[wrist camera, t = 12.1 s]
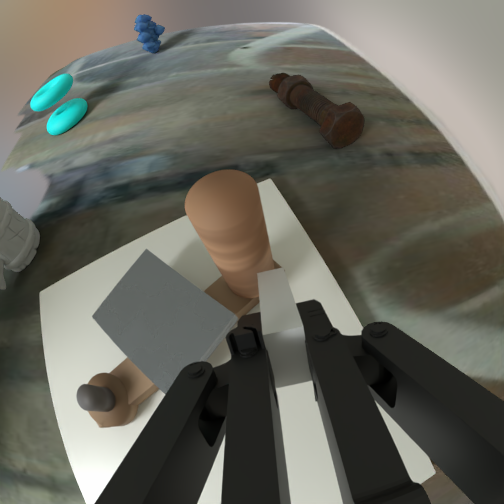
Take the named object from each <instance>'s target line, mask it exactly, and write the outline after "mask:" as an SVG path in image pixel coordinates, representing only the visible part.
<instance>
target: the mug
mask: <svg viewBox="0 0 504 504" xmlns="http://www.w3.org/2000/svg"><path fill="white" fill-rule="evenodd" d="M39 240H40V234H39V231H38V229H37V228H35V225H34V223H33V222H32V221H31V220H29V219H27V218H26V219H24V218H23V217H22V216H21V215H20V214H18V213H17V212H16V211H15V210H14V209H13V208H12V206H11V204H10V203H9V202H7V201H3V200H2V199H1V198H0V290H5V289H6V283H5V280H4V275H3V268H4V267H5V268H6V269H7V270H13V271H15V272H19V271H22V269H25V268H26V265H29V264H30V262H31V261H32V259H33V258H34V256H35V254H36V252H37V251H36V249H37V247H38V246H39Z"/></svg>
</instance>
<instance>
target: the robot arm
mask: <svg viewBox="0 0 504 504" xmlns="http://www.w3.org/2000/svg"><path fill="white" fill-rule="evenodd" d="M257 276H258V288H259V300H260V311H261V312H257V313H252V314H247V315H242V316H241V318H240V319H239V320H238V323H237V327H236V328H234V329H232V330H231V331H230V332H228V333H227V335H226V337H225V338H226V341H227V344H228V347H229V350H230V353H231V359H230V360H229V361H228V362H226V363H224V364H222V365H219V366H216V367H214V368H213V367H212V365H211V364H210V363H208V362H205V361H199V362H193V363H191V364H189V365H187V366H185V367H184V368H183V369H182V370H181V371H180V373H179V374H178V376H177V377H176V379H175V380H174V382H173V384H172V385H171V387H170V388H169V390H168V391H167V393H166V394H165V396H164V398H163V399H162V401H161V402H160V404H159V405H158V407H157V408H156V410H155V411H154V413H153V414H152V416H151V418H150V419H149V421H148V422H147V424H146V425H145V427H144V428H143V430H142V431H141V433H140V435H139V436H138V438H137V439H136V441H135V442H134V444H133V445H132V447H131V448H130V450H129V451H128V453H127V454H126V456H125V458H124V459H123V461H122V462H121V464H120V465H119V467H118V468H117V470H116V471H115V473H114V474H113V476H112V477H111V479H110V481H109V482H108V484H107V485H106V487H105V488H104V490H103V491H102V493H101V494H100V496H99V497H98V499H97V500H96V502H95V503H94V504H197V503H198V500H199V498H200V496H201V493H202V491H203V489H204V486H205V484H206V481H207V479H208V476H209V474H210V471H211V469H212V467H213V464H214V462H215V459H216V457H217V454H218V451H219V449H220V446H221V444H222V441H223V439H224V436H225V446H224V462H223V478H222V494H221V504H291V499H290V491H289V483H288V474H287V466H286V458H285V450H284V442H283V434H282V426H281V418H280V410H279V402H278V396H277V392H276V388H280V387H285V386H290V385H295V384H300V383H304V382H309V381H313V388H314V395H315V402H316V401H317V403H318V407H319V411H320V415H321V418H322V422H323V426H324V430H325V434H326V437H327V441H328V445H329V449H330V453H331V457H332V461H333V465H334V469H335V473H336V477H337V481H338V485H339V489H340V493H341V497H342V502H343V504H431V502H430V500H429V498H428V496H427V493H426V492H425V490H424V488H423V487H422V486H421V485H420V484H419V483H416V482H413V481H412V480H411V478H410V476H409V474H408V472H407V469H406V467H405V465H404V463H403V460H402V458H401V456H400V454H399V451H398V449H397V447H396V445H395V443H394V440H393V438H392V436H391V434H390V432H389V430H388V428H387V425H386V423H385V421H384V419H383V417H382V415H381V413H380V411H379V409H378V406H377V404H376V402H377V403H378V404H379V405H380V406H381V407H382V408H383V409H384V411H385V412H386V413H387V414H388V415H389V416H390V417H391V418H392V419H393V420H394V421H395V422H396V423H397V424H398V425H399V426H400V427H401V428H402V429H403V431H404V432H405V433H406V434H407V435H408V436H409V437H410V438H411V439H412V440H413V441H414V442H415V443H416V444H417V445H418V446H419V447H420V448H421V449H422V450H423V451H424V452H425V453H426V454H427V456H428V457H429V458H430V459H431V460H432V461H433V462H434V463H435V464H436V465H437V466H438V467H439V468H440V469H441V470H442V471H443V472H444V473H445V474H446V475H447V476H448V477H449V478H450V479H451V480H452V481H453V482H454V483H455V484H456V485H457V486H458V487H459V488H460V489H461V490H462V491H463V492H464V493H465V494H466V496H467V497H468V498H469V499H470V500H471V501H472V502H473V503H474V504H504V401H502V400H501V399H500V398H498V397H497V396H495V395H494V394H492V393H491V392H490V391H488V390H487V389H485V388H484V387H483V386H481V385H480V384H478V383H477V382H475V381H474V380H473V379H471V378H470V377H468V376H467V375H465V374H464V373H462V372H461V371H460V370H458V369H457V368H455V367H454V366H452V365H451V364H449V363H448V362H447V361H445V360H444V359H442V358H441V357H439V356H438V355H436V354H435V353H433V352H432V351H431V350H429V349H428V348H426V347H425V346H423V345H422V344H420V343H419V342H417V341H416V340H414V339H413V338H411V337H410V336H408V335H407V334H405V333H404V332H403V331H401V330H400V329H398V328H397V327H395V326H394V325H392V324H390V323H387V322H374V323H371V324H368V325H367V326H365V327H364V328H363V330H362V331H361V335H353V336H348V335H342V334H341V333H340V331H339V330H338V329H337V328H334V327H333V326H332V324H331V322H330V320H329V318H328V316H327V314H326V312H325V310H324V308H323V306H322V304H321V303H320V302H318V301H317V300H315V299H312V300H308V301H304V302H299V303H295V300H294V297H293V294H292V291H291V288H290V285H289V282H288V280H287V277H286V274H285V271H284V268H278V269H274V270H269V271H265V272H260V273H257ZM275 386H276V387H275ZM375 401H376V402H375Z"/></svg>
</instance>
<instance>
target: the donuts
mask: <svg viewBox="0 0 504 504" xmlns="http://www.w3.org/2000/svg"><path fill="white" fill-rule="evenodd" d="M72 84H73V78H72V76H71V75H70V74H62V75H59V76H57V77H56V78H54V79H52V80H51V81H50V82H48V83H47V84H46V85H44V86H43V87H42V88H41V89H40V90H39V91H38V92H37V93H36V94H35V95H34V96H33V98H32V100H31V103H30V105H31V108H32V109H33V110H34V111H43V110H45V109H47V108H49V107H51V106H53V105H54V104H55V103H57V102H58V101H59V100H60V99H62V98H63V97H64V96H65V95H66V94H67V92H68V91H69V90H70V88H71V86H72ZM87 107H88V105H87V102H86V101H85V100H84V99H81V98H76V99H72V100H70V101H68V102H66V103H64V104H63V105H61V106H60V107H59V108H58V109H57V110H56V111H55V112H54V113H53V114H52V115H51V117H50V118H49V120H48V123H47V131H48V132H49V134H51V135H59V134H62V133H64V132H66V131H67V130H69V129H70V128H72V127H73V126H74V125H75V124H77V123H78V122H79V121H80V120H81V119H82V117H83V116H84V115H85V113H86V111H87Z"/></svg>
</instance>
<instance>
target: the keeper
mask: <svg viewBox="0 0 504 504" xmlns="http://www.w3.org/2000/svg"><path fill="white" fill-rule="evenodd" d="M92 317H93V319H94V320H95V321H96V322H97V324H98V325H99V326H100V327H101V328H102V329H103V331H104V332H105V333H106V334H107V335H108V336H109V337H110V339H111V340H112V341H113V342H114V343H115V344H116V345H117V346H118V347H119V349H120V350H121V351H122V352H123V353H124V354H125V355H126V356H127V357H128V358H129V359H130V360H131V361H132V362H133V363H134V364H135V365H136V366H137V368H138V369H139V370H140V371H141V372H142V373H143V374H144V375H145V376H146V377H148V378H149V379H150V380H151V381H152V382H153V383H154V384H155V385H156V386H157V387H158V388H159V389H160V390H161V391H162V392H163V393H164V394H166V393H167V391H168V390H169V388H170V387H171V385H172V384H173V382H174V380H175V379H176V377H177V376H178V374H179V373H180V371H181V370H182V369H183V368H184V367H185V366H187V365H189V364H191V363H193V362H199V361H205V362H206V361H207V360H208V358H209V357H210V356H211V354H212V353H213V352H214V351H215V349H216V348H217V347H218V345H219V344H220V343H221V342H222V340H223V339H224V338H225V336H226V335H227V333H228V332H229V331H230V330H231V329H232V327H233V326H234V325H235V323H236V322H237V321H238V317H237V316H236V315H235V314H234V313H233V312H231V311H230V310H228V309H227V308H226V307H224V306H223V305H221V304H220V303H219V302H217V301H216V300H214V299H213V298H212V297H210V296H209V295H207V294H206V293H205V292H203V291H202V290H201V289H199V288H198V287H196V286H195V285H194V284H192V283H191V282H190V281H188V280H187V279H186V278H184V277H183V276H182V275H180V274H179V273H178V272H176V271H175V270H174V269H172V268H171V267H170V266H168V265H167V264H166V263H164V262H163V261H162V260H161V259H159V258H158V257H157V256H155V255H154V254H153V253H152V252H150V251H149V250H148V249H146V250H145V251H144V252H143V253H142V254H141V255H140V257H139V258H138V259H137V260H136V261H135V263H134V264H133V265H132V266H131V267H130V269H129V270H128V271H127V272H126V273H125V275H124V276H123V277H122V278H121V280H120V281H119V282H118V283H117V285H116V286H115V287H114V288H113V290H112V291H111V292H110V293H109V295H108V296H107V297H106V299H105V300H104V301H103V302H102V304H101V305H100V306H99V308H98V309H97V310H96V312H95V313H94V314H93V316H92Z"/></svg>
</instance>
